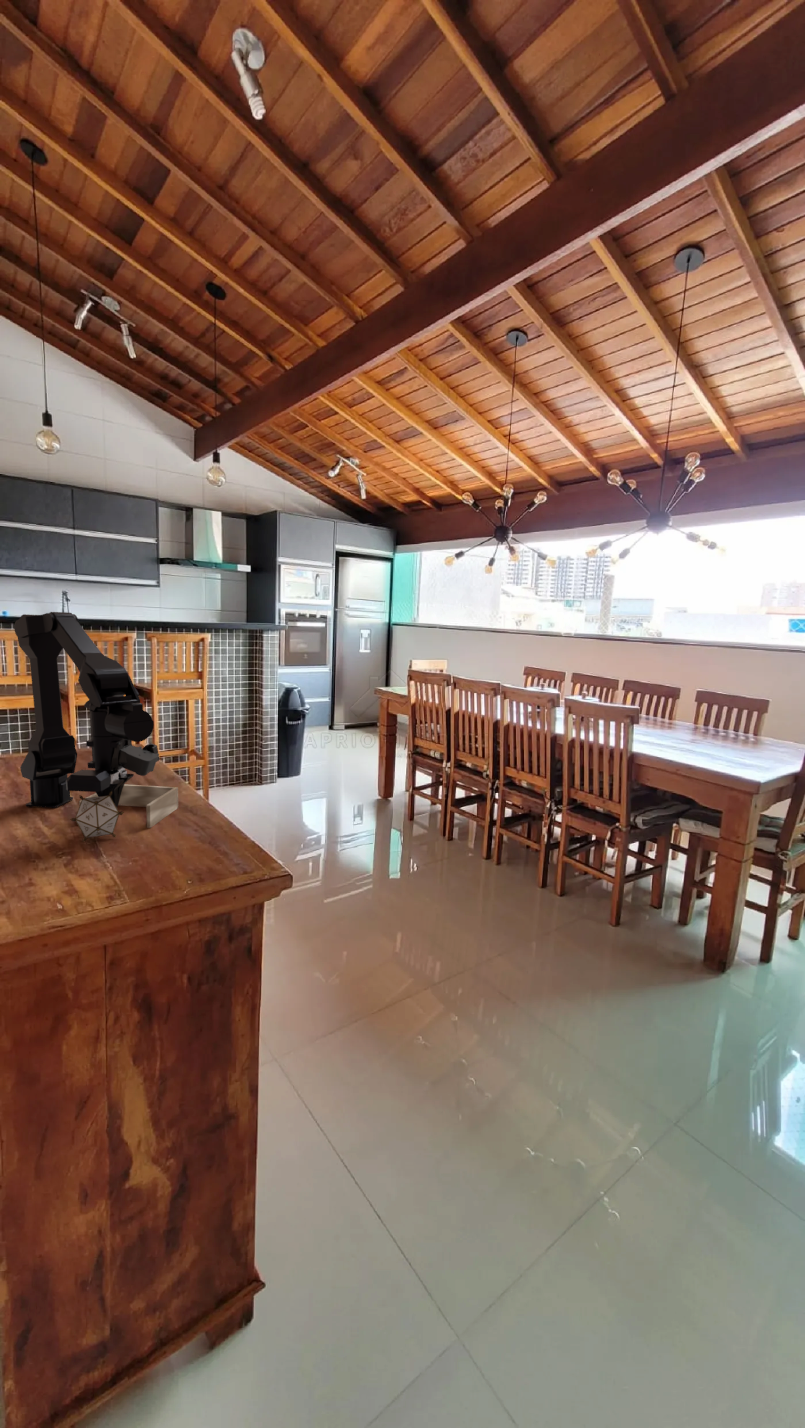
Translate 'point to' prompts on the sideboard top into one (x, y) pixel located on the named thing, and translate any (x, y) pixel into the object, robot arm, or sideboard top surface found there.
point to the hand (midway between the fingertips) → (112, 813)
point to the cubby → (149, 800)
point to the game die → (97, 816)
